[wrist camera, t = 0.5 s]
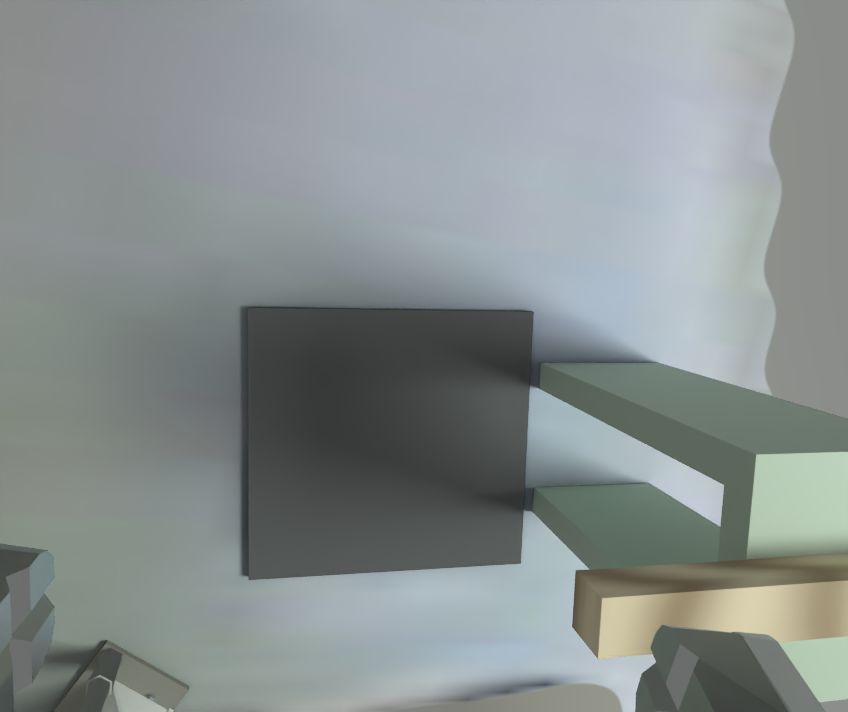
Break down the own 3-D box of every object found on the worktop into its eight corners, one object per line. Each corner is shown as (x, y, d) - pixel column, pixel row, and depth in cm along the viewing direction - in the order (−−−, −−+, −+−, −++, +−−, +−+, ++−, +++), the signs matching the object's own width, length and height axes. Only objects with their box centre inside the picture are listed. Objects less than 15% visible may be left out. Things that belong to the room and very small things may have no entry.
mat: (248, 307, 52) (247, 308, 51) (530, 311, 56) (533, 311, 55) (248, 576, 54) (248, 579, 54) (518, 560, 59) (520, 563, 58)
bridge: (540, 362, 57) (756, 454, 32) (658, 362, 59) (949, 448, 34) (532, 511, 58) (731, 711, 33) (647, 506, 60) (917, 691, 35)
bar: (572, 626, 31) (598, 659, 28) (575, 570, 31) (602, 598, 28) (947, 596, 35) (997, 622, 32) (954, 546, 34) (1005, 569, 32)
